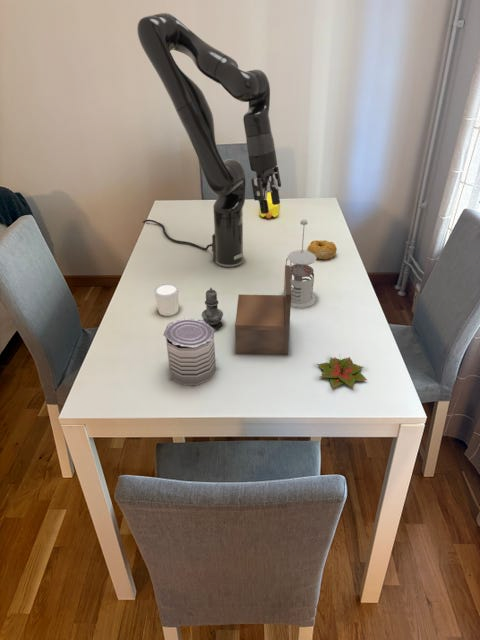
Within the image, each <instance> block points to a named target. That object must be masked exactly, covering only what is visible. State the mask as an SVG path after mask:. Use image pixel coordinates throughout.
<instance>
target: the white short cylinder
mask: <svg viewBox="0 0 480 640" xmlns="http://www.w3.org/2000/svg"><path fill="white" fill-rule="evenodd" d="M153 292H154V296H155V301H156V306H157V310H158V313H159V314H160V315H161V316H164V317H170V316H174V315H176V314H177V313H178V312H179V298H180V297H179V287H178V286H177V285H176V284H174V283H163V284H160V285H157V286H156V287H155V288H154V290H153Z"/></svg>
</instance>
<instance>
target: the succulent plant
mask: <svg viewBox="0 0 480 640" xmlns="http://www.w3.org/2000/svg"><path fill="white" fill-rule="evenodd" d="M338 356H339V357H341V355H340V354H338ZM316 365H317V366H318V367H319V368H320V369H321V370H322V371H323V372H322V373H321V375H320V376H319V378H329V382H330V384H331V387H332V389H334V388H336V387H339V386H342V385H343V384H346V385H348V386H349V387H351V388H352V389H354V387H355V382H356V381H357V382H359V381H368V379H367V378H366V377H365V376H364V374H362V373H361V372H360V371H361V370H362V369H364V366H361V365H358V364H356V363H354V361H353V360H352V359H351V357H350V356H349V357H345V358H342V359H341V358H337V357H336V356H334V358H333V357H330V358H329V362H321V363H317V364H316Z"/></svg>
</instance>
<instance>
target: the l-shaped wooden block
mask: <svg viewBox="0 0 480 640" xmlns="http://www.w3.org/2000/svg"><path fill="white" fill-rule="evenodd" d="M283 281H284V283H283V294H242V293H241V294H240V293H239V294H238V295H237V296H238V297H237V304H236V305H237V306H236V307H237V308H236V314H235V324H234V331H235V332H234V333H235V336H234V337H235V338H234V339H235V354H238V355H271V356H272V355H274V356H275V355H276V356H277V355H278V356H288V355H289V346H290V345H289V344H290V325H291V309H292V308H291V307H292V306H291V290H292V289H291V287H292V286H291V278H290V264H289V265H288V264H287V265H286V264H285V265H284V280H283Z"/></svg>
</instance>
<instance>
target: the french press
mask: <svg viewBox="0 0 480 640" xmlns="http://www.w3.org/2000/svg"><path fill="white" fill-rule="evenodd" d="M300 225H301V226H303V228H302V240H301V242H302V243H301V249H298V250H294V251H291V252H289V253H288V254H287V258H286V259H285V265H288V264H287V263H288V262H287V261H289V265H290V278H291V307H293V308H299V309H301V308H308V307H310V306H312V305H314V304H315V302H316V296H315V295H314V283H315V273H314V268H313V267H312V266H311V265H313V264H314V263H315V262H316V261H317V258H316V256H315V255H314V254H313V253H311V252H309V251H307V250H305V249H304V240H305V239H304V237H305V226H306V225H308V220H307V219H305V218H303V219H301V220H300ZM292 264H293V265H292Z"/></svg>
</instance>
